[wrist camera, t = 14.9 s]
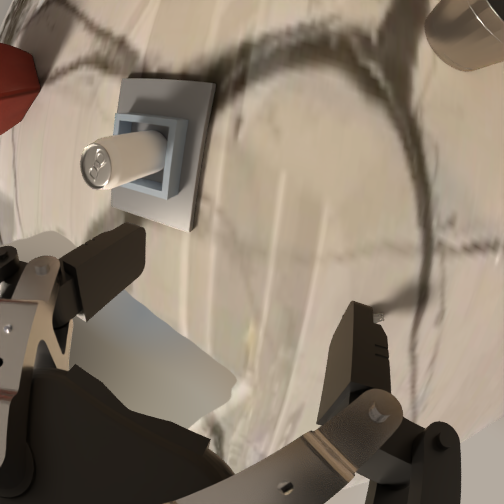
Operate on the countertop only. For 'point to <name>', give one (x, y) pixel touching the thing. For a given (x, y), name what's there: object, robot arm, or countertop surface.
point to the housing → (178, 146)
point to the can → (122, 158)
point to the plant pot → (16, 85)
